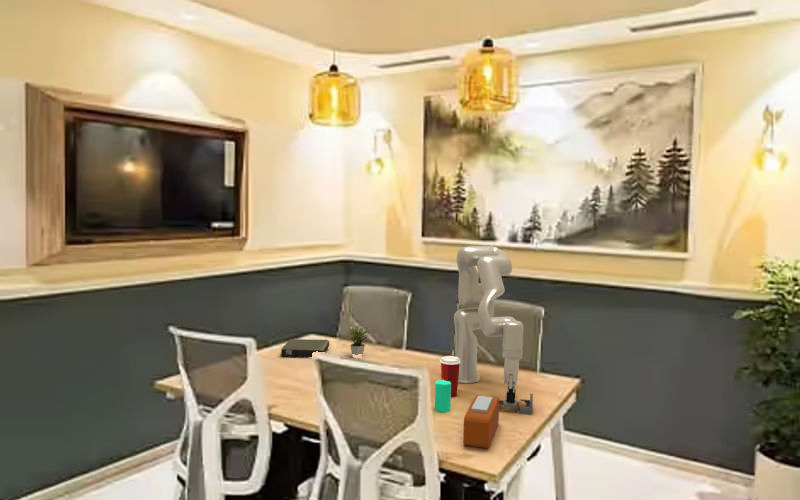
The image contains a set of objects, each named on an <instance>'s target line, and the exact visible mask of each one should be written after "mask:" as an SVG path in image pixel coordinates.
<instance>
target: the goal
mask: <svg viewBox="0 0 800 500" xmlns="http://www.w3.org/2000/svg"><path fill="white" fill-rule="evenodd" d="M533 399H534V394H533V393H529V399H523V398H522V399H521V398H520V400H519V401H525V402H526V404H527V407H525V406H520V409H519V414H523V415H533Z"/></svg>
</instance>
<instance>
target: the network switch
mask: <svg viewBox="0 0 800 500" xmlns="http://www.w3.org/2000/svg"><path fill="white" fill-rule="evenodd" d="M328 347H329V348H330V340H328V339H306V338H305V339H302V338H298V339H295V338H291V339H288V341H286V343H284V345H283V347H282V348H281V349H280V350H281V353H280V354H281V355H280V356H281V358H284V357H286V358H303V357H312V353H313V352H316V351H318V352H326V353H327V351H328V350H329V349H328ZM327 349H328V350H327Z"/></svg>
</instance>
